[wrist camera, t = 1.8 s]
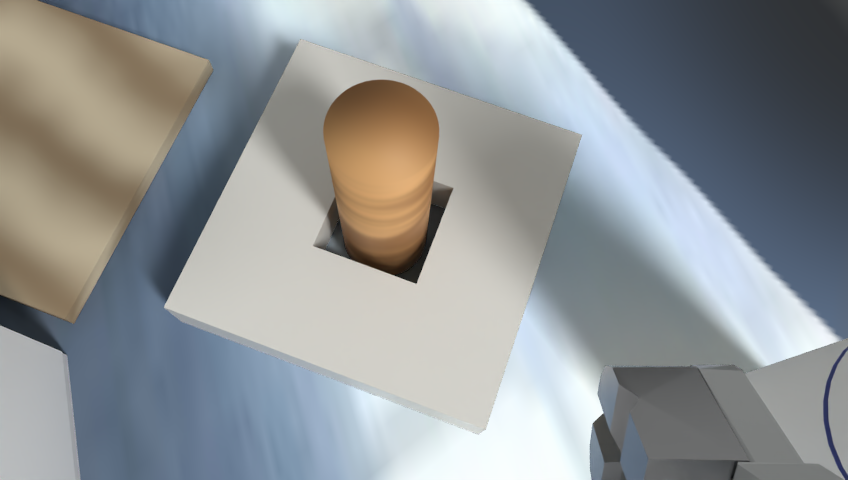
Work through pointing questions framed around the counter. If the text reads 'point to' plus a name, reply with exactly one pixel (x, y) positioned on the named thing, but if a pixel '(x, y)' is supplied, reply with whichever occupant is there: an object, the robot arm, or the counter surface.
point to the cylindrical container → (810, 403)
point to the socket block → (365, 286)
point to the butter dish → (35, 411)
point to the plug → (382, 171)
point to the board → (78, 145)
